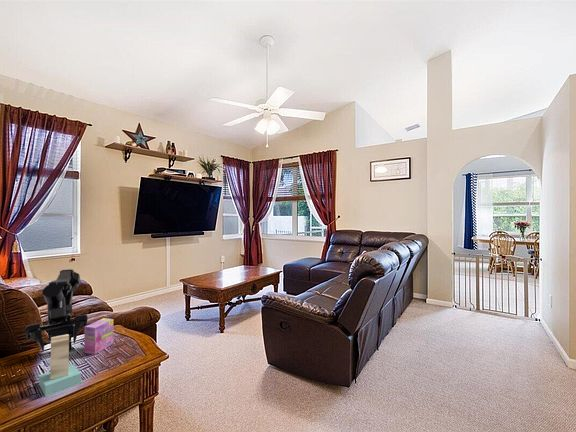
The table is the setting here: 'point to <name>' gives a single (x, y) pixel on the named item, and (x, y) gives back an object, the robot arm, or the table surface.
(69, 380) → the base block
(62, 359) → the pillar
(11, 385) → the table surface
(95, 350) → the box
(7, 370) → the table surface
